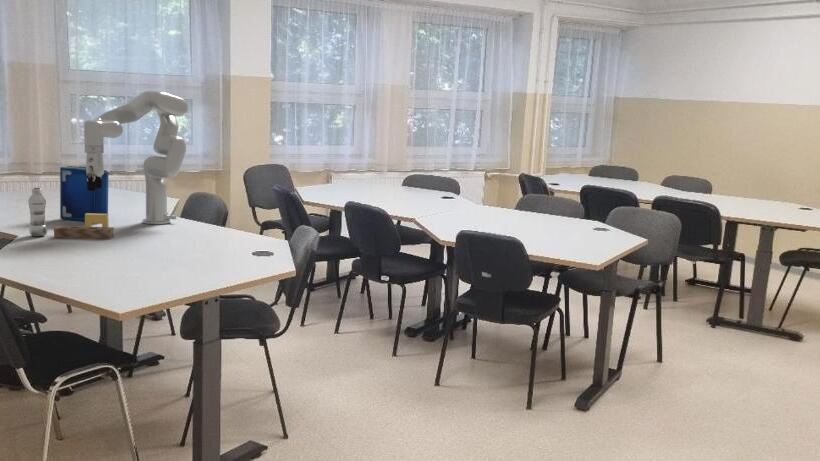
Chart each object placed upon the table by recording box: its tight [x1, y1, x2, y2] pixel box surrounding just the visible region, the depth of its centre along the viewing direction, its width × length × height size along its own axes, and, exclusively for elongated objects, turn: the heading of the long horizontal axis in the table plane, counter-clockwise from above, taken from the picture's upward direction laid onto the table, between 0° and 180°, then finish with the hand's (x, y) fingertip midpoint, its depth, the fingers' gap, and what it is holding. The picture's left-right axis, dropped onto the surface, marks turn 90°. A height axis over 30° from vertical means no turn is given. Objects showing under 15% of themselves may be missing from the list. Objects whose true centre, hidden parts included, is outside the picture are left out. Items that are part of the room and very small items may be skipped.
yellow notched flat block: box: [84, 213, 110, 227], centre depth 313 cm, size 9×2×8 cm, turn 99°
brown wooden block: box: [53, 225, 115, 240], centre depth 301 cm, size 22×6×4 cm, turn 99°
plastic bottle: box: [27, 187, 48, 237], centre depth 297 cm, size 6×7×20 cm
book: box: [59, 165, 110, 223], centre depth 336 cm, size 22×7×25 cm, turn 84°
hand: (94, 189), depth 311 cm, fingers open, 9 cm apart
